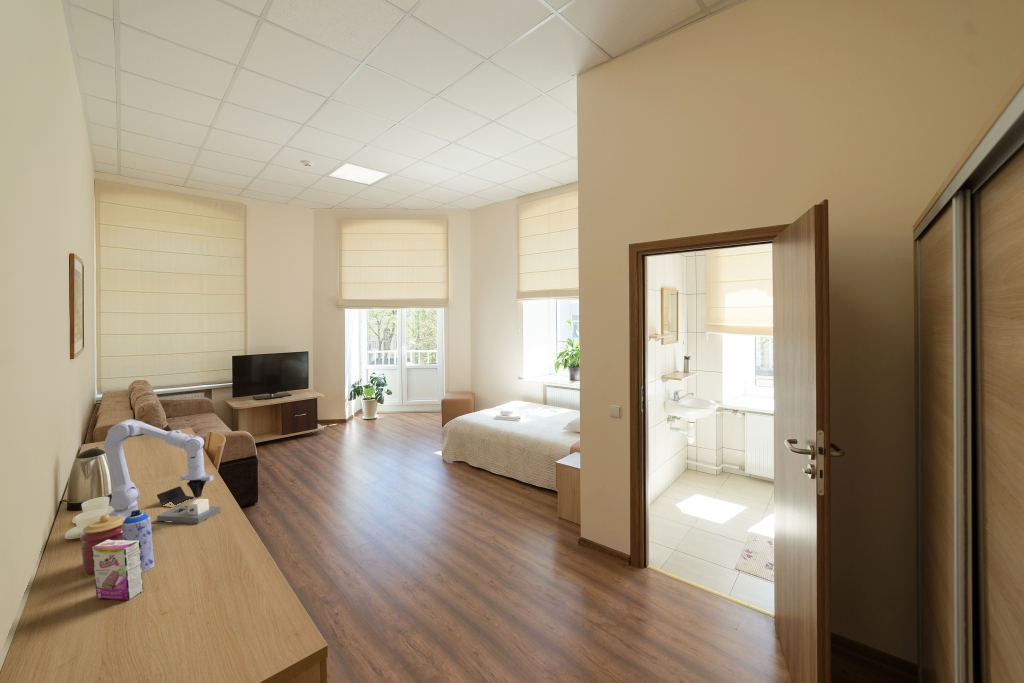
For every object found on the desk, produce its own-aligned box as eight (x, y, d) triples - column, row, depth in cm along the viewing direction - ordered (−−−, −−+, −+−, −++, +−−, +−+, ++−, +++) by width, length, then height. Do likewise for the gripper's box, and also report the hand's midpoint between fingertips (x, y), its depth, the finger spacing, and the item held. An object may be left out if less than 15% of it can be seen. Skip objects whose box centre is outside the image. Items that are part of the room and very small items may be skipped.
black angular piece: (176, 504, 203) (165, 486, 205) (164, 514, 204) (153, 496, 205) (197, 497, 215) (186, 480, 216) (186, 507, 215) (175, 490, 217)
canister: (75, 569, 153) (71, 519, 152) (122, 551, 164) (118, 504, 163) (92, 578, 147) (88, 526, 146) (140, 559, 158) (136, 510, 157)
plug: (195, 520, 187) (194, 505, 187) (186, 520, 188) (185, 505, 188) (209, 513, 194) (208, 498, 194) (200, 513, 195) (199, 498, 195)
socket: (198, 523, 186) (198, 516, 185) (157, 521, 189) (156, 514, 189) (220, 512, 196) (219, 505, 196) (180, 510, 200) (180, 503, 200)
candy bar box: (95, 600, 135) (90, 547, 134) (111, 590, 140) (107, 538, 139) (129, 601, 134) (124, 547, 133) (144, 591, 139) (140, 539, 138)
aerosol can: (119, 576, 147) (114, 517, 146) (132, 564, 155) (128, 507, 154) (147, 572, 149) (143, 513, 148) (159, 560, 157) (155, 504, 156)
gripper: (218, 462, 194) (220, 493, 194) (189, 462, 196) (191, 492, 197) (204, 468, 187) (206, 500, 187) (174, 467, 189) (176, 499, 190)
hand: (197, 496), depth 191 cm, fingers closed
